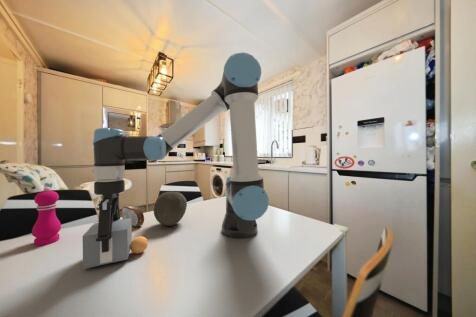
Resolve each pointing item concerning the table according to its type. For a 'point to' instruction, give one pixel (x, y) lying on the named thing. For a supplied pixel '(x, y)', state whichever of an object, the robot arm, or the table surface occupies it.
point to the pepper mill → (46, 218)
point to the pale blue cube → (119, 243)
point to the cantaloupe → (170, 208)
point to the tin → (133, 215)
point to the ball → (138, 244)
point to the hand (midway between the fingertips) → (110, 252)
